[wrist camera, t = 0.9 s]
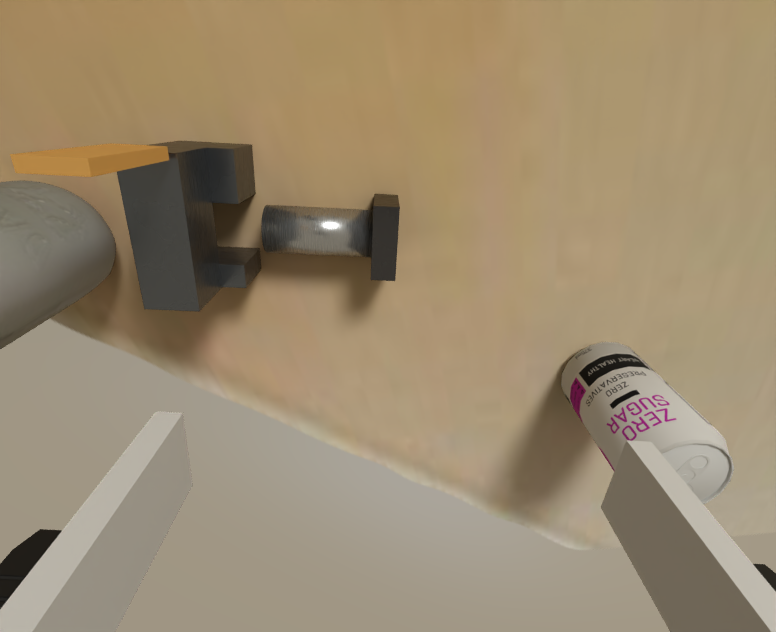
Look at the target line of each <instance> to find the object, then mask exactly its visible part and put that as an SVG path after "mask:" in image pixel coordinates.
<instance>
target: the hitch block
mask: <svg viewBox="0 0 776 632" xmlns="http://www.w3.org/2000/svg"><path fill="white" fill-rule="evenodd" d="M148 146H167V148H168V154H169V160H168V161H163V162H159V163H154V164H149V165H145V166H140V167H135V168H131V169H126V170H121V171H117V175H118V180H119V185H120V190H121V195H122V200H123V205H124V210H125V215H126V220H127V225H128V229H129V234H130V239H131V244H132V249H133V254H134V259H135V264H136V269H137V274H138V279H139V284H140V289H141V294H142V299H143V304H144V309H156V310H180V311H200V310H201V309H202V308H203V307H204V306H205V305H206V304H207V303H208V302H209V301H210V300H211V298H212V297H213V296H214V295H215V294H216V293H217V292H218V291H219V290H220V289H221V288H222V287H236V288H247V286H248V285H249V284H250V282H251V281H252V280H253V279H254V277H255V276H256V275H257V274H258V272H259V271H260V270H261V259H260V248H240V247H219V246H217V238H216V229H215V221H214V212H213V204H212V203H230V204H239V203H241V202H242V201H244V200H246V199H247V198H249V197H250V196H252V195H254V194H255V180H254V166H253V153H252V145H249V144H230V143H211V142H193V141H175V142H167V143H159V144H152V145H148Z"/></svg>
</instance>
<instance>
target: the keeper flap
mask: <svg viewBox="0 0 776 632" xmlns="http://www.w3.org/2000/svg"><path fill="white" fill-rule="evenodd" d="M10 155H11V159H12V162H13V165H14V169H15V172H16V173H25V174H45V175H64V176H84V177H93V176H98V175H103V174H107V173H112V172H117V171H121V170H126V169H131V168H135V167H140V166H145V165H149V164H154V163H159V162H163V161H168V160H169V154H168V148H167V146H148V145H129V144H102V145H93V146H84V147H75V148H65V149H56V150H47V151H37V152H28V153H19V154H10Z"/></svg>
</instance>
